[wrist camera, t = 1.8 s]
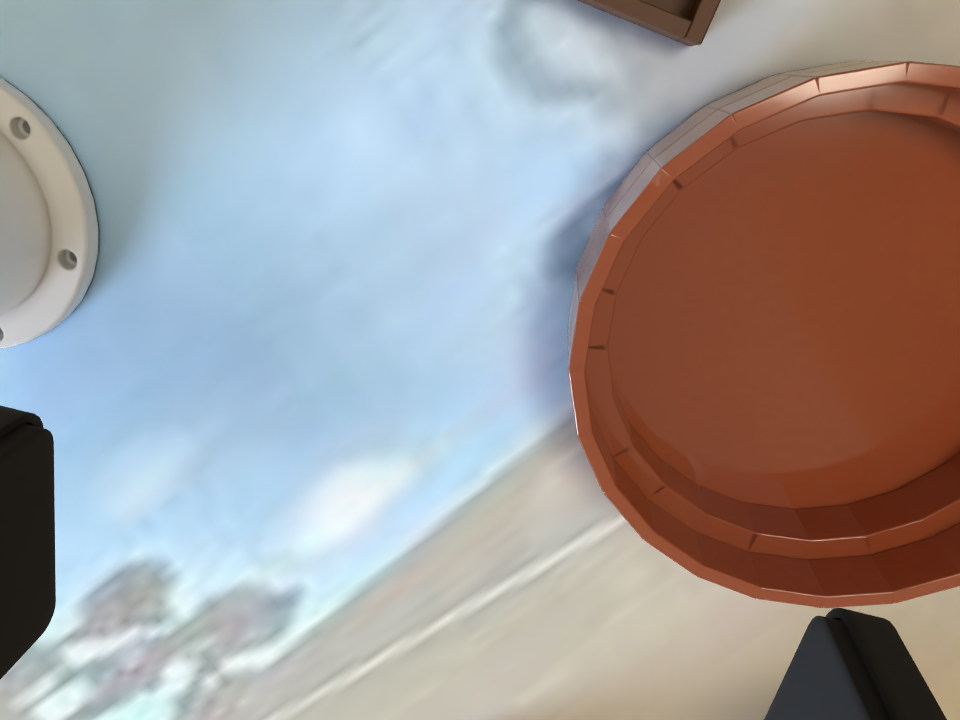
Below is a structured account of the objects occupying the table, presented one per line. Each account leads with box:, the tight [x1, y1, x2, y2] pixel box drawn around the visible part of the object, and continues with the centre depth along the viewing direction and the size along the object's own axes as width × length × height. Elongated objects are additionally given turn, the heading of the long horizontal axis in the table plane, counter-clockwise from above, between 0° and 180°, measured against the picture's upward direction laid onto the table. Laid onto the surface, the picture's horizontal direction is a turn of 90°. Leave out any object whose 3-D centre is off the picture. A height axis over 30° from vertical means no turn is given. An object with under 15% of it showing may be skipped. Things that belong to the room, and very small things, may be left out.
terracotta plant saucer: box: [568, 61, 960, 608], centre depth 29 cm, size 20×20×6 cm
